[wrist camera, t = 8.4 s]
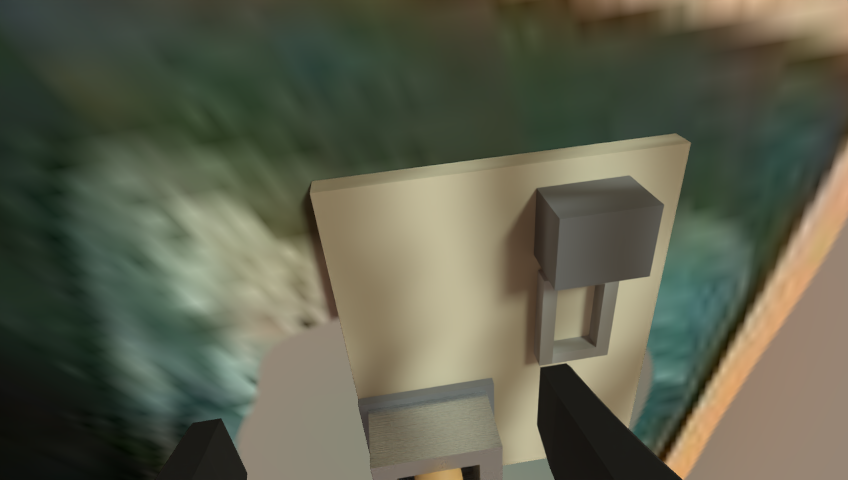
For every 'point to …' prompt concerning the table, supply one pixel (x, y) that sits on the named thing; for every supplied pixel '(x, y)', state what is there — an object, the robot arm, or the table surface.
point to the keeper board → (504, 272)
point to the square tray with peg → (454, 476)
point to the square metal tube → (436, 439)
